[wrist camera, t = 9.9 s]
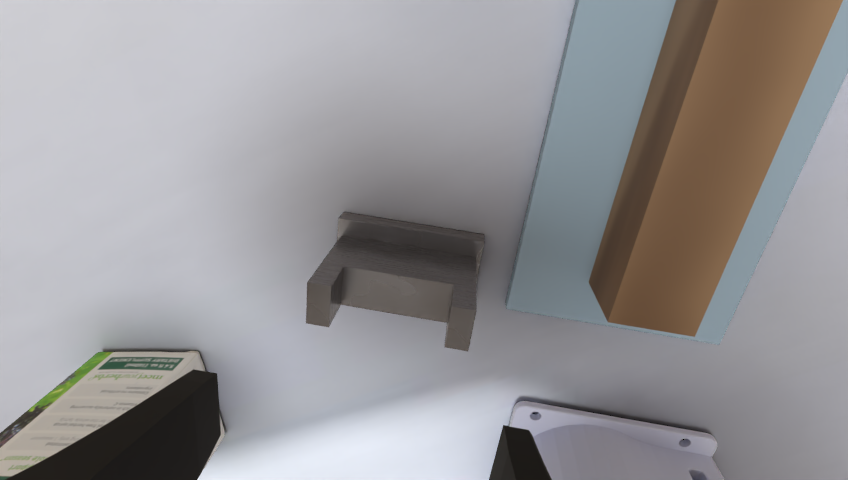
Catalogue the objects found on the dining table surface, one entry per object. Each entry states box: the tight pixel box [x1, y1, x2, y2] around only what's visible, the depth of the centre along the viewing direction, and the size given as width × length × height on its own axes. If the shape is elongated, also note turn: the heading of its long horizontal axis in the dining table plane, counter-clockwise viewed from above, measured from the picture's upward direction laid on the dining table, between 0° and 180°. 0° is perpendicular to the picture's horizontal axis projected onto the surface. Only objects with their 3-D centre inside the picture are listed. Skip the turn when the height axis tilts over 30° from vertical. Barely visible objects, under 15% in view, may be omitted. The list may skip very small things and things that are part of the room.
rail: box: [589, 0, 843, 337], centre depth 14 cm, size 3×16×3 cm, turn 173°
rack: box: [306, 212, 484, 351], centre depth 15 cm, size 6×16×5 cm, turn 173°
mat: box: [506, 0, 848, 345], centre depth 16 cm, size 9×20×1 cm, turn 173°
